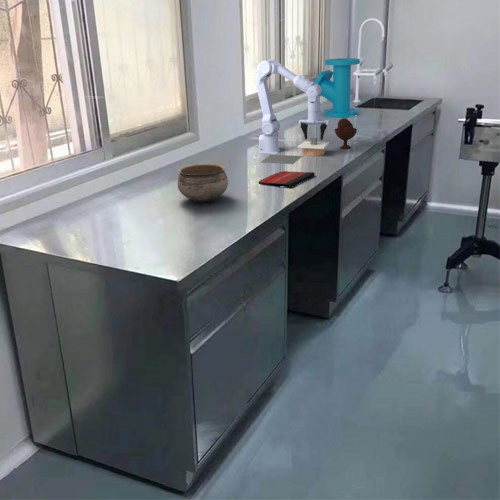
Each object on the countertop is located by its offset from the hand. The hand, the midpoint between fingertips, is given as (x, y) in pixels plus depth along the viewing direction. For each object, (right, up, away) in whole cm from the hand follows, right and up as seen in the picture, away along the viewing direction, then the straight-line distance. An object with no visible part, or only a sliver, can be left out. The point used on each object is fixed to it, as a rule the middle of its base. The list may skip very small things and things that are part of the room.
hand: (313, 139), depth 281 cm
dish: (0, -7, +3) cm, 7 cm away
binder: (-16, -25, -38) cm, 48 cm away
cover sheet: (0, -3, +1) cm, 3 cm away
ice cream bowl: (+17, -2, +14) cm, 22 cm away
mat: (-16, -11, -5) cm, 20 cm away
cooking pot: (-48, -35, -60) cm, 84 cm away
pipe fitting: (+26, +37, +109) cm, 118 cm away
